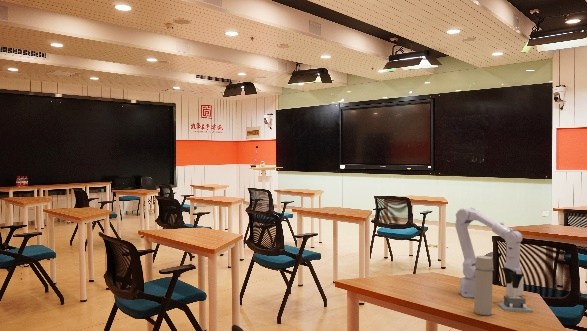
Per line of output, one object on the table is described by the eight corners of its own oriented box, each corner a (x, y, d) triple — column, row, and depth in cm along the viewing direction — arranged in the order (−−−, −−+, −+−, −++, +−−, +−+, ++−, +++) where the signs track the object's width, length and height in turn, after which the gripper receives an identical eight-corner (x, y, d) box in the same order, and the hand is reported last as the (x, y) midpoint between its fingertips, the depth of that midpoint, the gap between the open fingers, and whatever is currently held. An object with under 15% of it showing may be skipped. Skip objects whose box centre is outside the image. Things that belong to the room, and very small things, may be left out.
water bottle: (486, 317, 190) (488, 259, 190) (469, 312, 196) (471, 256, 196) (497, 313, 195) (499, 257, 195) (481, 308, 201) (482, 254, 201)
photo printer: (516, 293, 228) (516, 269, 228) (524, 295, 225) (524, 271, 225) (504, 296, 223) (505, 271, 223) (513, 298, 219) (513, 273, 219)
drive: (507, 307, 202) (507, 298, 202) (503, 304, 206) (504, 295, 206) (525, 307, 201) (525, 299, 201) (521, 305, 205) (521, 296, 205)
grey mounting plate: (505, 310, 199) (505, 304, 199) (497, 304, 208) (497, 298, 208) (532, 312, 199) (532, 305, 199) (523, 305, 208) (523, 299, 208)
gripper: (528, 260, 199) (527, 290, 199) (515, 254, 214) (514, 281, 214) (512, 259, 200) (511, 289, 200) (500, 253, 214) (499, 281, 214)
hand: (512, 285), depth 207 cm, fingers open, 7 cm apart
